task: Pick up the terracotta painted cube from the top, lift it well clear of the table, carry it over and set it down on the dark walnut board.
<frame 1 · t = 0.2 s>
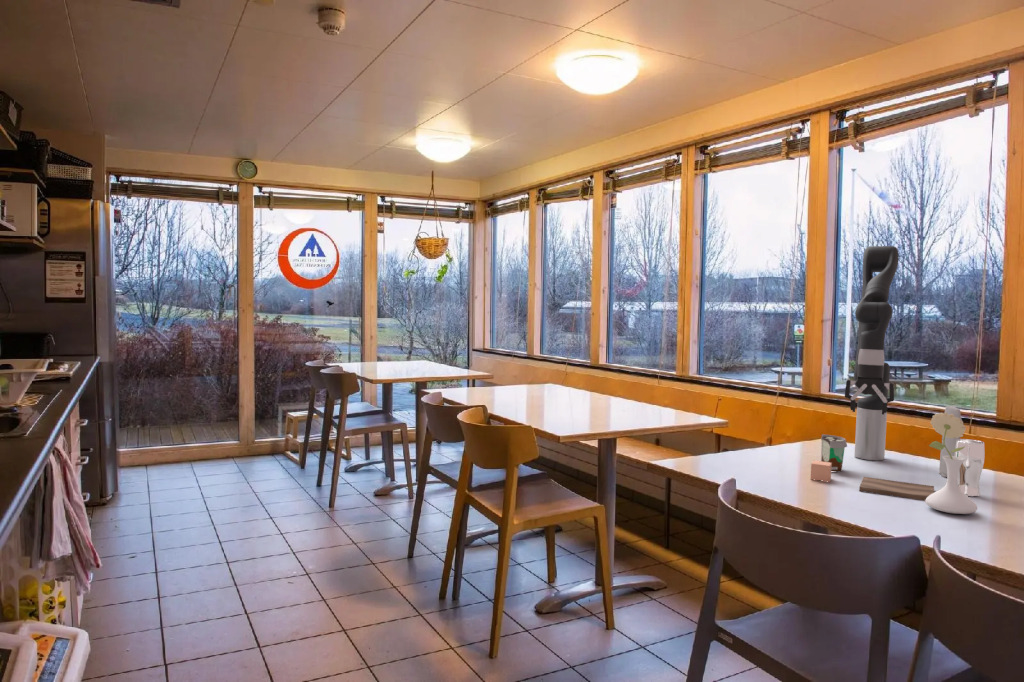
hand: (868, 413, 227), 17 cm above the table, tool pointing down, fingers open, 8 cm apart
walnut board: (896, 490, 198), on the table
terracotta cube: (820, 479, 209), on the table
flower in vase: (947, 510, 180), on the table
food container: (834, 469, 222), on the table
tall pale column: (948, 477, 216), on the table
beer glass: (967, 494, 196), on the table
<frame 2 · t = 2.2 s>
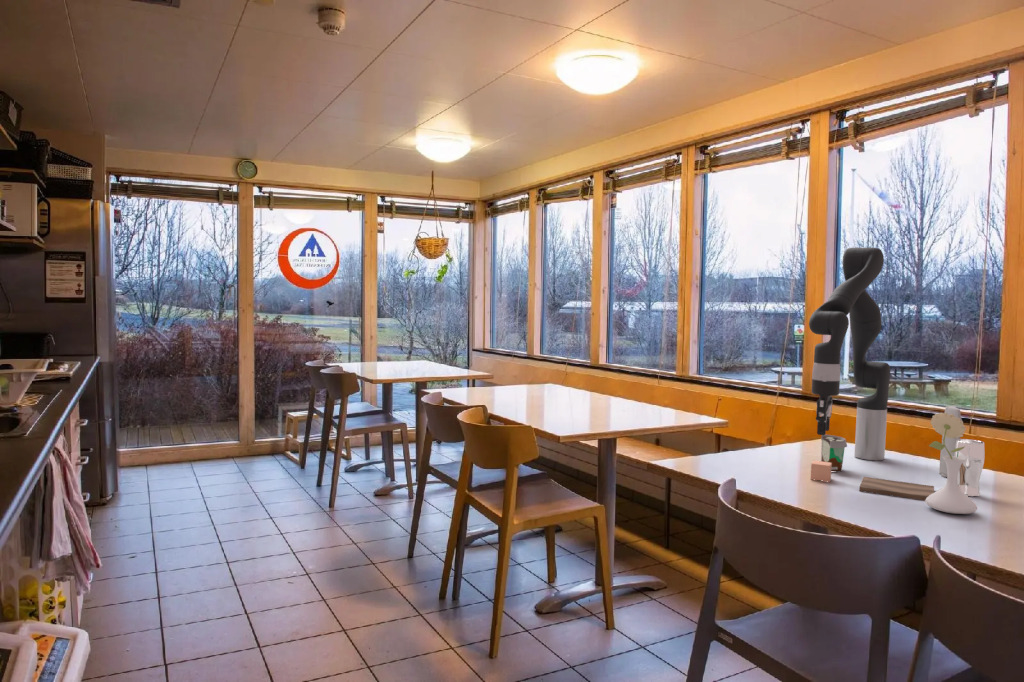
hand: (823, 432, 208), 14 cm above the table, tool pointing down, fingers open, 8 cm apart
nothing on the table moved.
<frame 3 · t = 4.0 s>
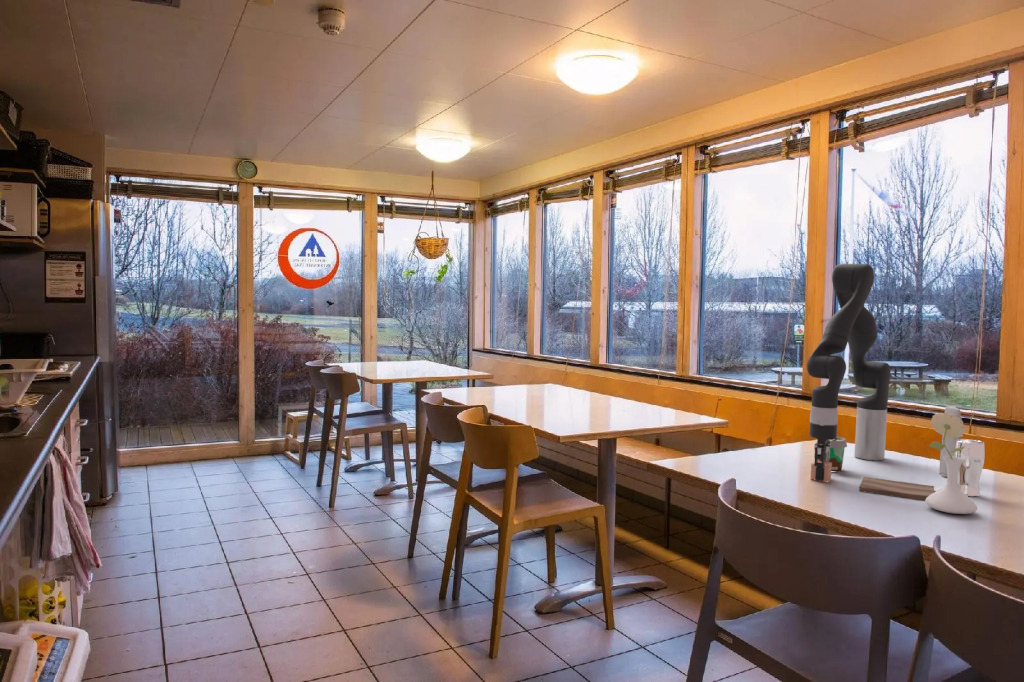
hand: (820, 477, 209), 0 cm above the table, tool pointing down, fingers closed on terracotta cube, 5 cm apart
terracotta cube: (820, 479, 209), on the table, touching gripper
everything else where it was.
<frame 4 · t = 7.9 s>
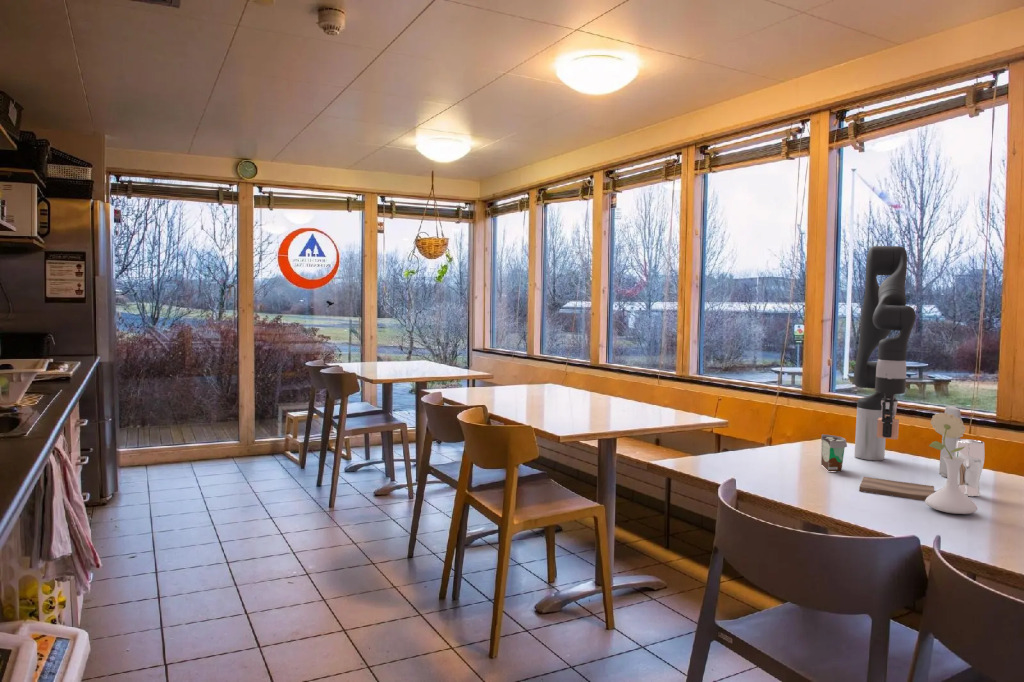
hand: (887, 435, 198), 15 cm above the table, tool pointing down, fingers closed on terracotta cube, 5 cm apart
terracotta cube: (887, 437, 198), point 15 cm above the table, touching gripper
everything else where it was.
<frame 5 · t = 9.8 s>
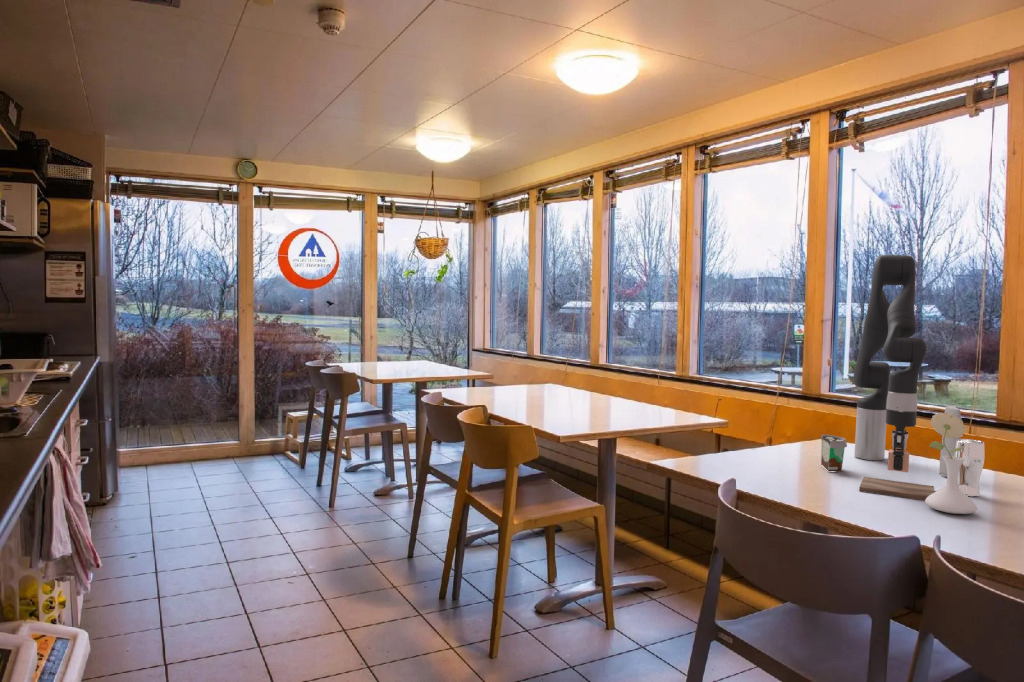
hand: (898, 467, 197), 7 cm above the table, tool pointing down, fingers closed on terracotta cube, 5 cm apart
terracotta cube: (898, 469, 197), point 6 cm above the table, touching gripper
everything else where it was.
when the fingers open (3 cm above the table, at t = 11.4 s): terracotta cube drops 1 cm, resting on walnut board.
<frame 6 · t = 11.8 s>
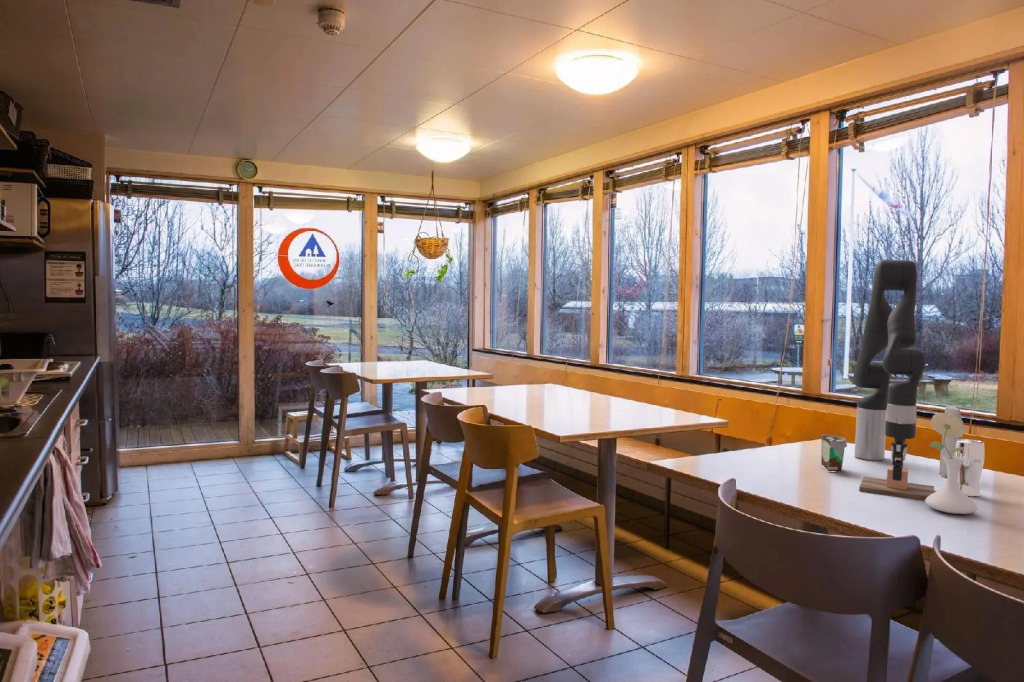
hand: (897, 477, 197), 4 cm above the table, tool pointing down, fingers open, 8 cm apart
terracotta cube: (897, 486, 198), point 1 cm above the table, touching walnut board
everything else where it was.
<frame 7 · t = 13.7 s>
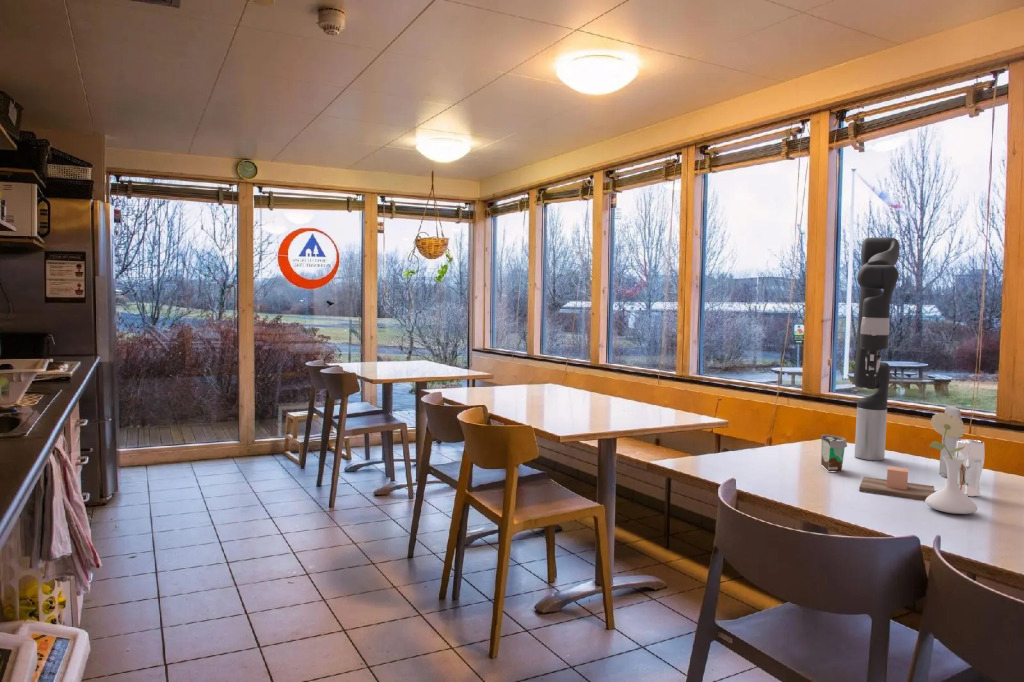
hand: (871, 387, 208), 28 cm above the table, tool pointing down, fingers open, 8 cm apart
nothing on the table moved.
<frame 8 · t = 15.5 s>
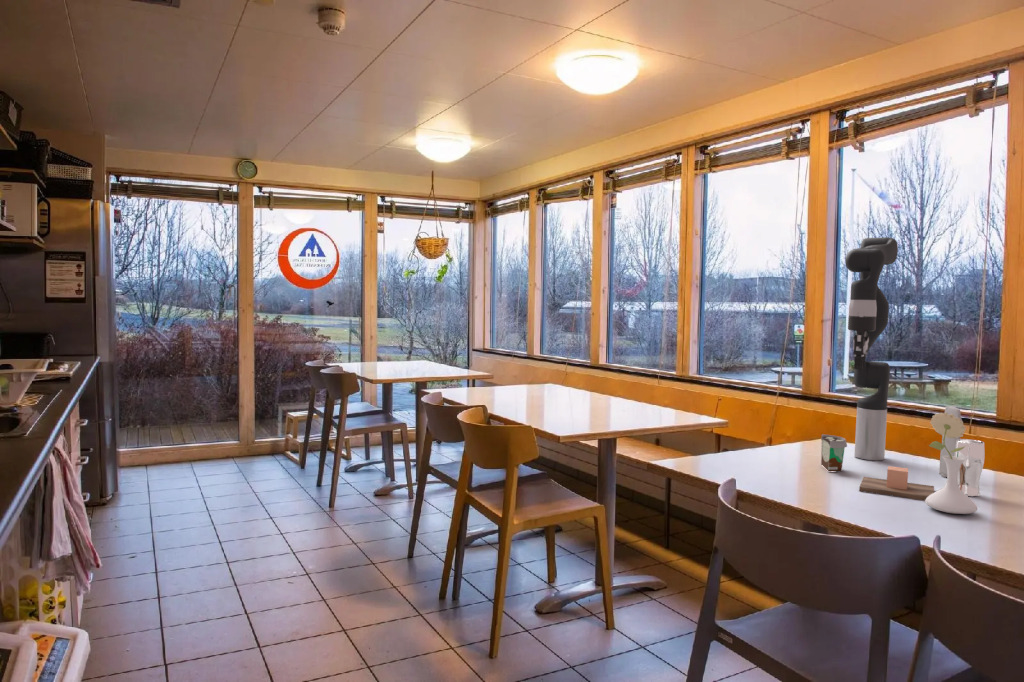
hand: (859, 368, 212), 33 cm above the table, tool pointing down, fingers open, 8 cm apart
nothing on the table moved.
at the end: terracotta cube inside the target area on the walnut board (0.0 cm from its centre), point 1.2 cm above the walnut board's base; terracotta cube tilted 0°; the gripper is holding nothing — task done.
